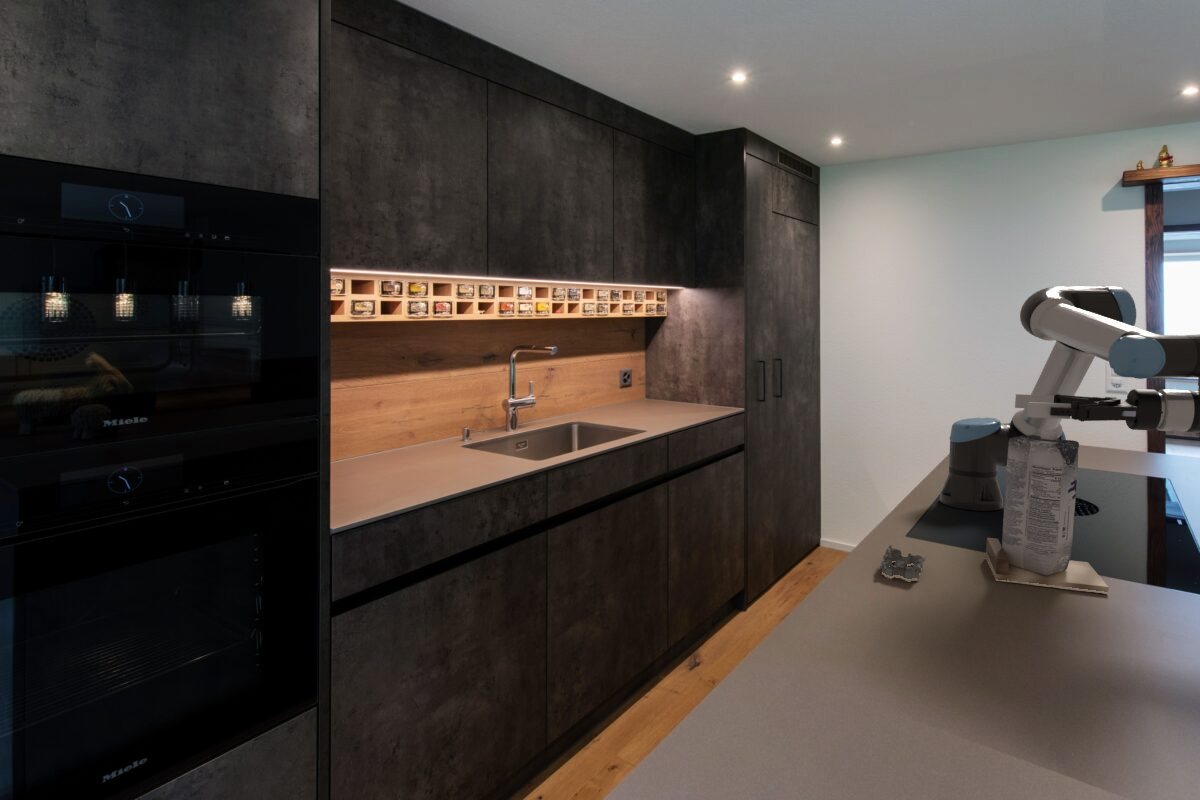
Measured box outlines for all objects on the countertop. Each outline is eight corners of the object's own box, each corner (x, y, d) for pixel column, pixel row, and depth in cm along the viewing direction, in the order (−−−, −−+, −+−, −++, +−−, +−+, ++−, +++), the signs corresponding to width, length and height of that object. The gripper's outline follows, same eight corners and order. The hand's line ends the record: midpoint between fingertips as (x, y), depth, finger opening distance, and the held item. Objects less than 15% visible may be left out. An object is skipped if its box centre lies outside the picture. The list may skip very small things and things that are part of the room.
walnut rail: (996, 573, 132) (997, 558, 132) (986, 551, 145) (986, 537, 145) (1007, 575, 132) (1008, 560, 131) (996, 552, 144) (997, 538, 144)
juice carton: (1049, 579, 129) (1059, 438, 126) (994, 562, 138) (1003, 430, 135) (1075, 571, 133) (1086, 434, 130) (1021, 555, 143) (1029, 426, 139)
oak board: (995, 581, 133) (996, 573, 132) (985, 558, 145) (986, 551, 145) (1107, 594, 126) (1108, 587, 126) (1087, 569, 139) (1087, 562, 138)
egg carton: (888, 562, 144) (889, 543, 144) (927, 569, 140) (928, 550, 139) (876, 578, 135) (876, 557, 135) (917, 586, 131) (918, 565, 131)
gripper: (1181, 442, 114) (1033, 434, 122) (1131, 420, 137) (1009, 415, 145) (1185, 397, 114) (1036, 392, 122) (1135, 383, 136) (1012, 380, 144)
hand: (1021, 405), depth 133 cm, fingers open, 13 cm apart
